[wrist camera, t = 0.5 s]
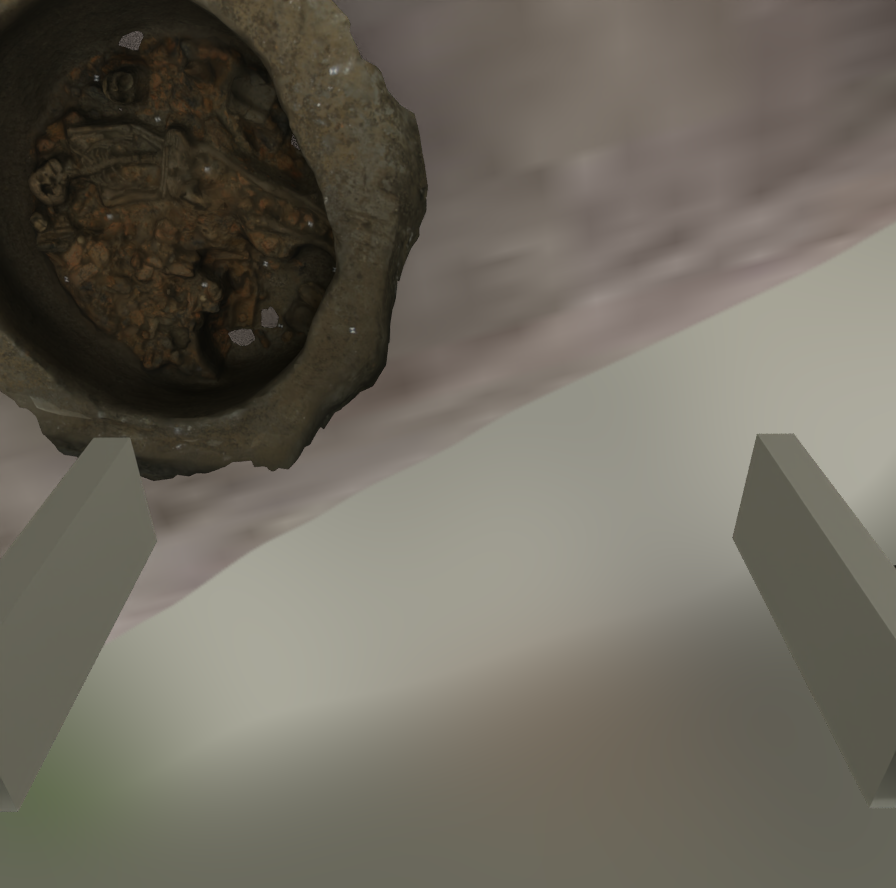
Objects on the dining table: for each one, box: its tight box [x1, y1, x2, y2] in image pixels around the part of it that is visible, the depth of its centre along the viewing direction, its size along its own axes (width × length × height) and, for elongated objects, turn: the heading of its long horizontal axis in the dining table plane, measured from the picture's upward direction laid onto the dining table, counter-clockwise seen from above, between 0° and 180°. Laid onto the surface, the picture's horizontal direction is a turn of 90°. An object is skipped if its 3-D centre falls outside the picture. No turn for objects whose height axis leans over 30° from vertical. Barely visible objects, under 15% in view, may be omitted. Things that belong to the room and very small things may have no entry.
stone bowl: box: [0, 0, 428, 481], centre depth 36 cm, size 25×25×9 cm
